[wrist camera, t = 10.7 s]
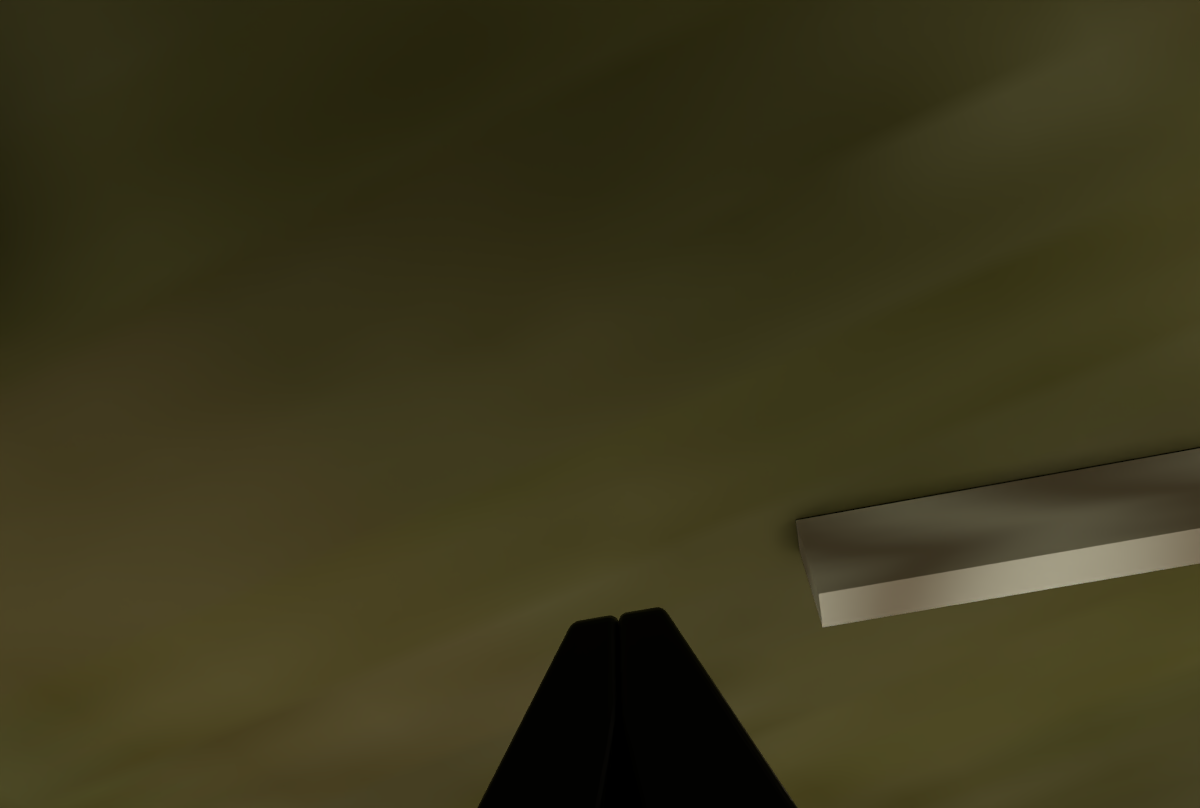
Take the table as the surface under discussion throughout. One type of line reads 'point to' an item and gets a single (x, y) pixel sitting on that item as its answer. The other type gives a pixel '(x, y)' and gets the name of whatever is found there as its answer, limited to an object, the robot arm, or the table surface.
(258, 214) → the table surface
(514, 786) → the robot arm
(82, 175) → the table surface
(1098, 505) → the trap lane
